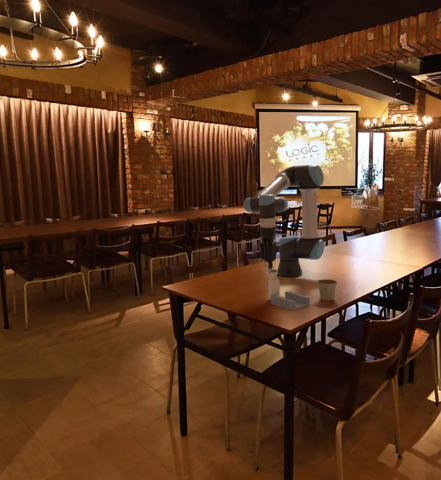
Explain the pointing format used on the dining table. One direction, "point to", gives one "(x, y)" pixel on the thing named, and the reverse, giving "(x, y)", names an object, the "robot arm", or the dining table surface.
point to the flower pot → (327, 289)
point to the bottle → (273, 285)
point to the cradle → (291, 300)
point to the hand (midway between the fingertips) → (269, 274)
